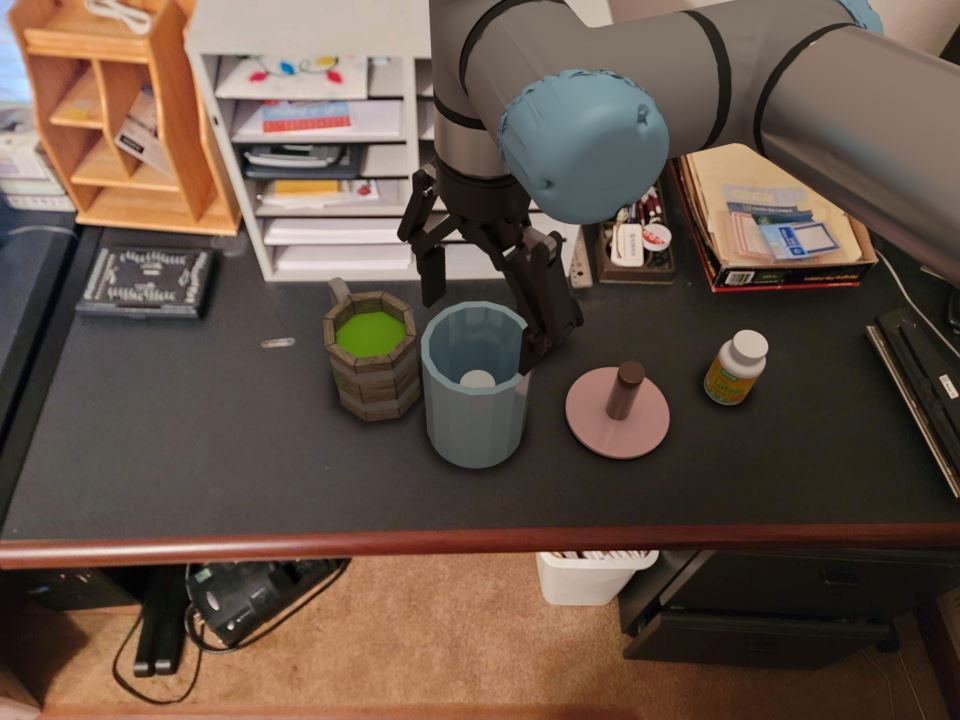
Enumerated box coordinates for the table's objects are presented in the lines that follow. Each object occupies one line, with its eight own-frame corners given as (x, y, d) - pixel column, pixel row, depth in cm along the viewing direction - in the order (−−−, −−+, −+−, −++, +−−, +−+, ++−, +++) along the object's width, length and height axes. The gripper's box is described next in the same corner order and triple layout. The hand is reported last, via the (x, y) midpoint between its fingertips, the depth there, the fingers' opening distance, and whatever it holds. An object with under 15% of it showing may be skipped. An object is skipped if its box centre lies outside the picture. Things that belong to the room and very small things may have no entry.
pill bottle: (505, 433, 83) (510, 394, 76) (466, 450, 82) (466, 412, 74) (485, 399, 86) (488, 358, 78) (447, 415, 84) (445, 375, 77)
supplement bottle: (699, 399, 87) (724, 354, 79) (706, 365, 90) (730, 319, 82) (743, 411, 86) (772, 368, 78) (748, 377, 89) (777, 332, 81)
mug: (438, 397, 86) (436, 340, 76) (360, 437, 83) (346, 383, 73) (379, 311, 94) (370, 249, 84) (305, 345, 90) (286, 285, 80)
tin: (542, 421, 85) (558, 342, 71) (480, 487, 80) (484, 416, 66) (471, 368, 89) (473, 283, 75) (407, 428, 84) (397, 349, 70)
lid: (674, 388, 88) (696, 343, 80) (657, 474, 81) (679, 435, 73) (578, 361, 90) (589, 314, 82) (553, 443, 83) (563, 401, 75)
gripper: (654, 198, 48) (602, 375, 66) (405, 62, 57) (419, 251, 74) (590, 257, 44) (554, 427, 62) (335, 103, 53) (367, 291, 71)
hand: (480, 331), depth 68 cm, fingers open, 12 cm apart
